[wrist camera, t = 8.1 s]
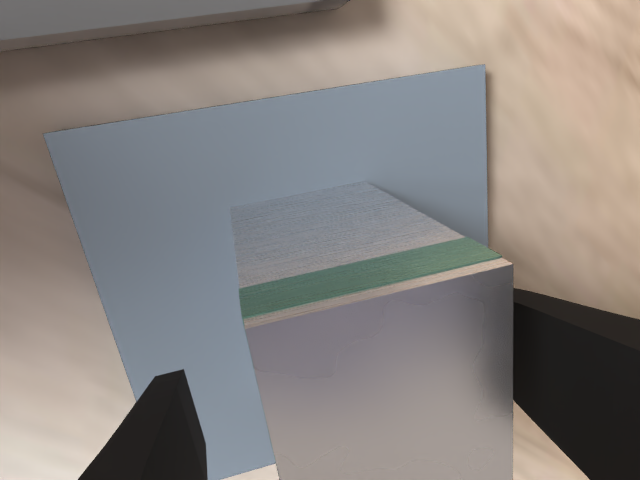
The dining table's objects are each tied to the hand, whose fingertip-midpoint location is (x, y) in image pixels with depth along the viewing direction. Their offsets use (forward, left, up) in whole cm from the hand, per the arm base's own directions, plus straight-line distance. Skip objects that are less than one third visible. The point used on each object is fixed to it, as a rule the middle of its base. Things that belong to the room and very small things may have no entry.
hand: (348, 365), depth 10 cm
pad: (0, 0, -5) cm, 5 cm away
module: (0, 0, -4) cm, 4 cm away
